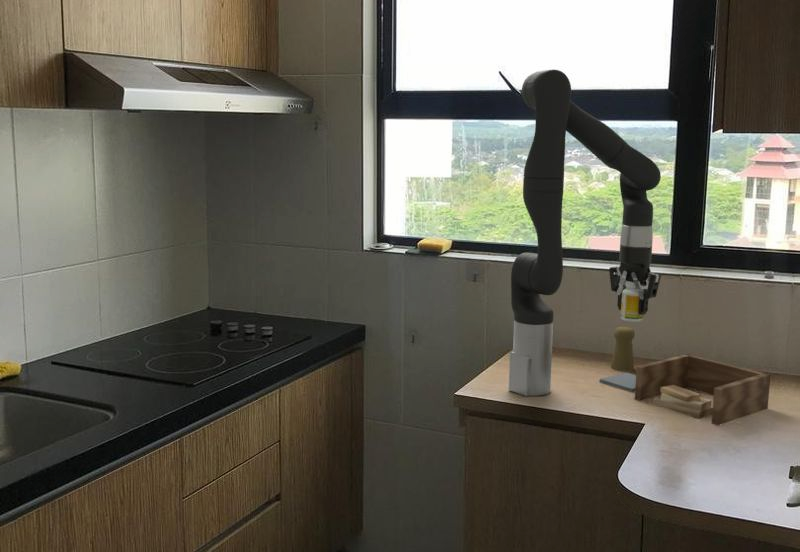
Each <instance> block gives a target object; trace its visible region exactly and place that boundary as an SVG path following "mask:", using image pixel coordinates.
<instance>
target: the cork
mask: <svg viewBox="0 0 800 552" xmlns="http://www.w3.org/2000/svg"><path fill="white" fill-rule="evenodd" d="M613 331H614V333H613V336H614V338H615V343H614V347H613V352H612V356H611V357H612V359H611V362H610V363H611V364H610V369H612V370H614V371H620V372H632V371H634V370H635V363H634V349H633V339H634V338H635V331H634V328H632V327H629V326H618V327H616V328H615V329H614V330H613Z"/></svg>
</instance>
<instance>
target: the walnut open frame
mask: <svg viewBox="0 0 800 552" xmlns="http://www.w3.org/2000/svg"><path fill="white" fill-rule="evenodd" d="M635 371H636V372H635V375H636V385H635V391H634V400H636V401H639V402H641V401H644V400H648V399H652V398H656V397H660V396H661V394H662V393H661V392H660V389H661V387H665V386H670V385H675V386H678V387H681V388H684V389H691V390H694V391H696V392H697V391H698V392H702V393H704V394H708V395H711V396H713V400H712V401H713V402H712V408H713V411H712V415H711V416H712V417H711V424H713V425H715V426H720V424H721V425H723V424H726V423H729V422H731V421H736V420H738V419H740V418H743V417H748V416H749V415H753V414H756V413H759V412H761V411H765V410H767V409H768V407H769V399H770V398H769V396H770V387H771V386H770V385H771V384H770V383H771V374H770V373H766V372H762V371H757V370H755V369H754V370H753V369H749V368H745V367H741V366H737V365H734V364H729V363H726V362H722V361H718V360H713V359H709V358H706V357H702V356H697V355H695V354H694V355H693V354H690V353H685V354H681V355H677V356H673V357H669V358H665V359H660V360H657V361H653V362H649V363H645V364H641V365H637V366H636V368H635Z"/></svg>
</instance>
